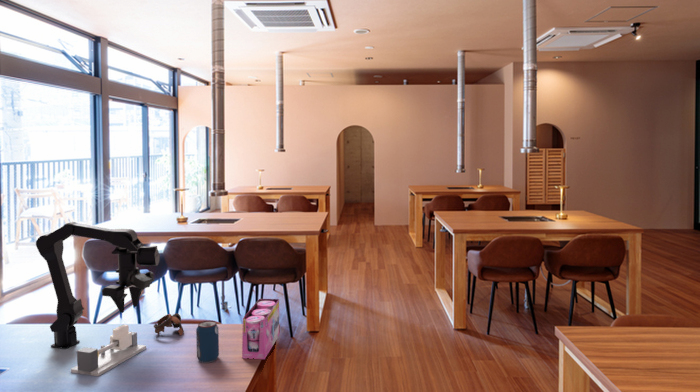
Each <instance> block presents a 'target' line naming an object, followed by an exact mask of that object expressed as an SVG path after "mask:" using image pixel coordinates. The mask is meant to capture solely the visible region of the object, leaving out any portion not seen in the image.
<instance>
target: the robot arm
mask: <svg viewBox="0 0 700 392" xmlns="http://www.w3.org/2000/svg"><path fill="white" fill-rule="evenodd" d="M71 236H77V237H83V238H88V239H94V240H99V241H103V242H107V243H109V244H110V245H112V246H115V248H114V250H112V251H111V255H117V259H118V260H117V262H118V264H117V265H118V266H117V267H118V268H117V269H115V273H118V280H116V281H115V284H116V285H115V284H110V285H107V286H104V287H103V288H102V289H101V296H102V297H108V298H109V297H110V299H111V300H112V301H113V302H114V304H115V306H116V307H117V309H118V312H120V313H124V312H125V298H126V297H127V296H128V293H125V291H126V290H127V289H129V294H130V299H131V302H132V305H133V307H135V308H137V307H138V304H139V300H140V298H141V295H142V292H143V291H144V290H145V289H146V288H150V286H151V285H152V283H153V282H154V281H155V280H154V278H155V276H154V272H152V271H147V272H146V273H145V272H143V273H142V272H141V269H140V267H137V265H139V266H141V267H143V266H144V267H145V266H149V267H151V266H154V267H155V266H156V267H157V266H158V265H159V263H160V255H161V254H160V251H159V250H158V246H157V245H151V246H145V245H144V244H143V242H142V241H141V240H140V238H139V237H138V234H137V232H136V231H135V230H134V229H131V228H115V229H110V228H105V227H99V226H95V225H94V226H93V225H91V224H90V225H89V224H82V223H78V222H76V221H71V222H67V223H65V224H64V225H62V226H61V227H59V228H58V229H56V230H54V231H52V232H50V233H47V234H43V235H41V236H39V237H38V238H37V239H36V241H35V247H36V248H37V251H38V253H39V254H40V256H41V257H42V258H43V259H44V261H45V262H46V264H47V267H48V268H47V269H48V271H49V274H50V277H51V282H52V285H53V288H54V292H55V296H56V298H57V299H56V300H57V306H56V310H55V311H56V319H55V321H54V322H52V323H51V324H50V325H49V329H50V331H51V332H52V333H53V338H54V340H53V342H54V343H53V344H50V347H51V348H58V349H68V348H70V347H73V346H74V345H76V344H77V345H78V344H79V343H80V340H78V339H77V338H78V337H77V335H78V334H77V329H76V326H75V325H77V324H78V320H79V319H80V318H82V316H83V314H84V310H85V307H84V306H83V302H82V299H81V298H78V299H77V298H76V297H75V296H74V294H73V291H72V288H71V284H70V281H69V277H68V274H67V270H66V266H65V262H64V259H63V253H64V241H65V240H68V238H70V237H71Z"/></svg>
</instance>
